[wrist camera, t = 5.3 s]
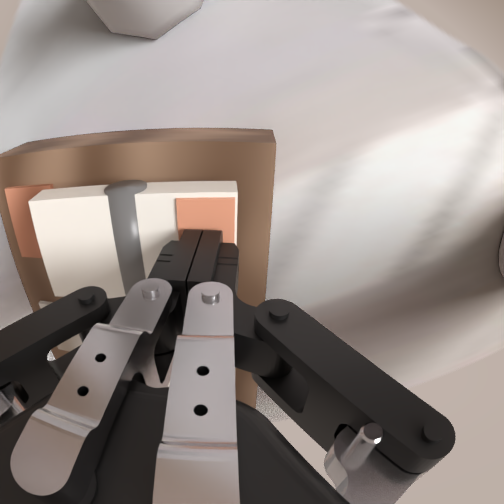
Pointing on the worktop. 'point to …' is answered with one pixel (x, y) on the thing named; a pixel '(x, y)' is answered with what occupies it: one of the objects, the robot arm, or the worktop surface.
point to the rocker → (123, 228)
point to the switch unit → (149, 170)
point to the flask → (143, 15)
